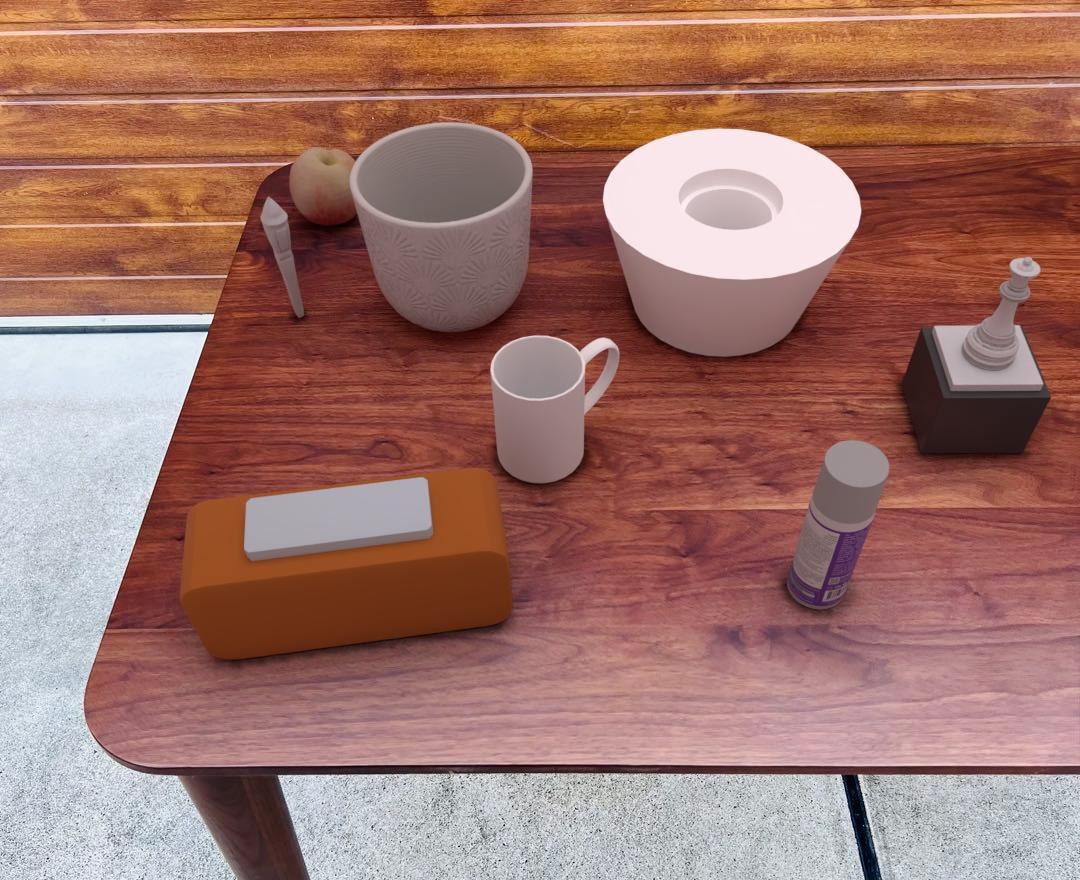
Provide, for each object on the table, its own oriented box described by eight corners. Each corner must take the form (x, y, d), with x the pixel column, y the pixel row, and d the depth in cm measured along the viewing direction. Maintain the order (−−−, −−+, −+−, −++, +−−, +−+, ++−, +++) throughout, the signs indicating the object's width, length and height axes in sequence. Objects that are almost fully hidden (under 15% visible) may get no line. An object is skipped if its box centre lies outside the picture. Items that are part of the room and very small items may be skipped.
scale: (999, 383, 96) (1029, 319, 90) (1025, 453, 90) (1059, 390, 84) (901, 383, 96) (923, 319, 90) (920, 453, 91) (946, 390, 84)
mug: (528, 498, 88) (524, 414, 80) (481, 444, 93) (472, 358, 84) (638, 440, 92) (645, 354, 84) (588, 390, 96) (590, 304, 88)
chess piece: (1020, 347, 87) (1065, 251, 79) (1005, 377, 85) (1049, 282, 77) (970, 330, 89) (1009, 234, 81) (954, 359, 87) (992, 263, 79)
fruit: (364, 238, 112) (351, 174, 106) (292, 238, 112) (276, 174, 106) (373, 196, 117) (361, 132, 110) (304, 196, 117) (289, 133, 111)
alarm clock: (502, 542, 86) (494, 452, 77) (515, 624, 81) (507, 537, 72) (217, 579, 84) (175, 491, 75) (211, 665, 79) (165, 581, 70)
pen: (306, 304, 105) (275, 185, 94) (317, 318, 104) (286, 199, 93) (284, 313, 105) (250, 194, 93) (294, 327, 103) (261, 208, 92)
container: (842, 564, 83) (887, 440, 71) (847, 611, 80) (895, 490, 69) (785, 561, 84) (820, 436, 72) (788, 607, 81) (825, 486, 69)
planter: (564, 325, 102) (563, 193, 90) (409, 377, 98) (386, 247, 86) (497, 234, 112) (488, 104, 100) (352, 279, 108) (324, 149, 96)
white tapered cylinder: (880, 340, 100) (913, 238, 90) (662, 408, 95) (672, 308, 85) (760, 209, 113) (778, 108, 104) (564, 262, 108) (563, 161, 99)
